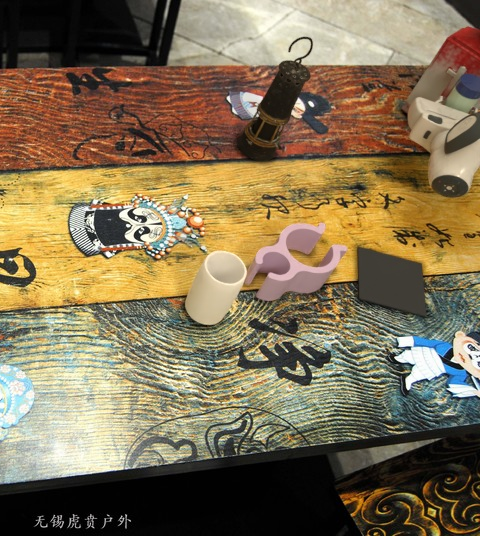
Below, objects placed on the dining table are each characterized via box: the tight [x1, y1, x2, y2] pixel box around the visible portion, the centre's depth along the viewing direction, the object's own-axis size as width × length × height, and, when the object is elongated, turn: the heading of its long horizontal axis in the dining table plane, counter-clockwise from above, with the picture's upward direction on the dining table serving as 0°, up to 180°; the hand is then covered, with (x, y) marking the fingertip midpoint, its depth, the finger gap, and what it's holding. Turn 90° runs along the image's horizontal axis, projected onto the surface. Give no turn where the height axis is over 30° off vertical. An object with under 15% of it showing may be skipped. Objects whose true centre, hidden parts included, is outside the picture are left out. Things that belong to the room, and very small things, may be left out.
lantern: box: [237, 36, 314, 162], centre depth 160 cm, size 9×9×30 cm
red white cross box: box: [401, 26, 480, 115], centre depth 175 cm, size 14×10×30 cm
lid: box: [455, 74, 480, 99], centre depth 163 cm, size 6×6×2 cm
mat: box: [357, 246, 427, 318], centre depth 153 cm, size 14×14×1 cm
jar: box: [444, 87, 478, 114], centre depth 167 cm, size 6×6×12 cm
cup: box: [184, 250, 248, 326], centre depth 136 cm, size 8×8×14 cm
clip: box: [243, 222, 348, 302], centre depth 148 cm, size 20×12×7 cm, turn 122°
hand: (456, 104), depth 168 cm, fingers closed on jar, 6 cm apart
